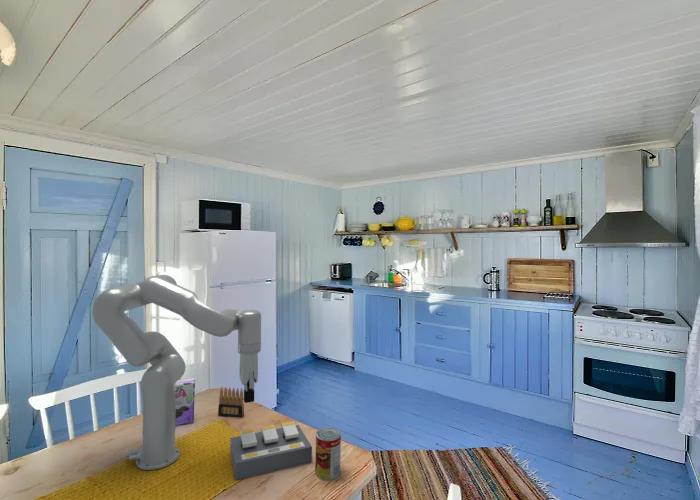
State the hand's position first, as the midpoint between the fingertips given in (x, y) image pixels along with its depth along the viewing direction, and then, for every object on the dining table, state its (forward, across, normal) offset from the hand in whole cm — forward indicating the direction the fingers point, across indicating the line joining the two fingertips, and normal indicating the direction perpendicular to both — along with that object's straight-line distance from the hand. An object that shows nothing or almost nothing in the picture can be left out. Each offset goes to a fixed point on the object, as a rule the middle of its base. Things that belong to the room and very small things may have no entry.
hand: (249, 401), depth 118 cm
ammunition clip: (+18, -32, -2) cm, 37 cm away
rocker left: (+12, +2, 0) cm, 12 cm away
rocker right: (+12, +2, +14) cm, 18 cm away
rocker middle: (+12, +2, +7) cm, 14 cm away
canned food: (+19, +19, +22) cm, 34 cm away
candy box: (+18, -34, -24) cm, 45 cm away
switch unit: (+18, +4, +6) cm, 20 cm away
